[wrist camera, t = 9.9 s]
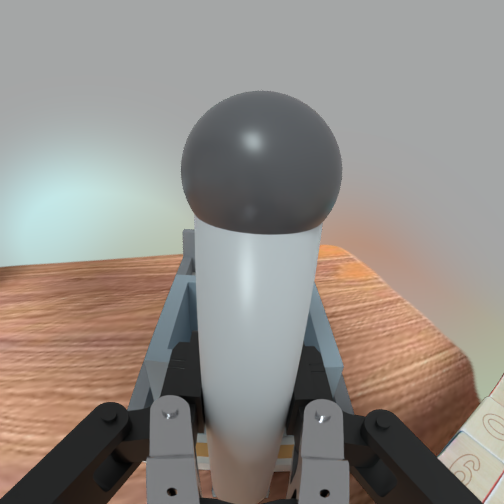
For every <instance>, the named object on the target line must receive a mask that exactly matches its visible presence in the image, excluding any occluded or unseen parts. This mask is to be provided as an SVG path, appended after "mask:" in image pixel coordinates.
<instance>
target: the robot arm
mask: <svg viewBox="0 0 504 504" xmlns="http://www.w3.org/2000/svg"><path fill="white" fill-rule="evenodd" d="M285 427H286V435H294V442H295V443H294V447H293V452H292V461H291V469H290V477H289V485H288V491H287V495H286V499H279V500H276V501H272V502H267V503H263V504H349V471H350V472H351V473H352V475H353V476H354V477H355V478H356V480H357V481H358V482H359V483H360V485H361V486H362V487H363V488H364V489H365V491H366V492H367V493H368V494H369V496H370V497H371V498H372V499H373V500H374V502H375V503H376V504H483V503H482V502H481V501H480V500H479V499H478V498H477V497H476V496H475V495H474V494H473V493H472V492H471V491H470V490H469V489H468V488H467V487H466V486H465V485H464V484H463V483H462V482H461V481H460V480H459V479H458V478H457V477H456V476H455V475H454V474H453V473H452V472H451V471H450V470H449V469H448V468H447V467H446V466H445V465H444V464H443V463H442V462H441V461H440V460H439V459H438V458H437V457H436V456H435V455H434V454H433V453H432V452H431V451H430V450H429V449H428V448H427V447H426V446H425V445H424V444H423V443H422V442H421V441H420V440H419V439H418V438H417V437H416V436H415V435H414V434H413V433H412V432H411V431H410V430H409V429H408V428H407V427H406V426H405V425H404V423H403V422H402V421H401V420H400V419H399V418H398V417H397V416H396V415H394V414H393V413H392V412H390V411H387V410H382V409H379V410H374V411H371V412H370V413H369V414H368V415H367V416H366V417H364V416H359V415H353V414H349V413H346V412H344V411H342V410H341V408H340V407H339V406H338V405H337V404H336V403H334V400H333V397H332V393H331V389H330V386H329V382H328V378H327V374H326V370H325V367H324V363H323V359H322V355H321V353H320V352H319V351H318V350H317V349H316V348H315V346H305V344H304V341H303V346H302V351H301V356H300V361H299V366H298V371H297V376H296V380H295V385H294V390H293V394H292V399H291V403H290V408H289V412H288V416H287V421H286V425H285ZM204 429H205V415H204V404H203V393H202V381H201V368H200V353H199V337H198V331H196V330H193V331H192V334H191V339H190V342H179V343H178V344H177V345H176V346H175V347H174V348H173V349H172V352H171V356H170V361H169V364H168V368H167V371H166V375H165V379H164V383H163V387H162V391H161V395H160V397H159V398H158V399H156V400H155V401H154V402H153V404H152V405H151V406H150V407H148V408H144V409H139V410H130V411H127V410H126V408H125V407H124V406H122V405H121V404H118V403H115V402H106V403H103V404H100V405H99V406H97V407H96V408H95V409H94V410H93V411H92V412H91V413H90V414H89V415H88V416H87V417H86V418H85V419H83V420H82V421H81V422H80V423H79V424H78V425H77V426H76V427H75V428H74V429H73V430H72V431H71V432H70V433H69V434H68V435H67V436H66V437H65V438H64V439H63V440H62V441H61V442H60V443H59V444H58V445H56V446H55V447H54V448H53V449H52V450H51V451H50V452H49V453H48V454H47V455H46V456H45V457H44V458H43V459H42V460H41V461H40V462H39V463H38V464H37V465H36V466H35V467H34V468H33V469H31V470H30V471H29V472H28V473H27V474H26V475H25V476H24V477H23V478H22V479H21V480H20V481H19V482H18V483H17V484H16V485H15V486H14V487H13V488H12V489H11V490H10V491H8V492H7V493H6V494H5V495H4V496H3V497H2V498H1V499H0V504H107V503H108V502H109V500H110V499H111V498H112V497H113V496H114V495H115V493H116V492H117V491H118V490H119V489H120V488H121V486H122V485H123V484H124V483H125V482H126V480H127V479H128V478H129V477H130V476H131V475H132V473H133V472H134V471H135V470H136V469H137V467H138V466H139V465H140V464H141V462H142V461H146V488H147V504H234V503H230V502H226V501H222V500H218V499H212V498H203V497H202V491H201V485H200V477H199V470H198V461H197V453H196V443H197V434H198V433H204Z"/></svg>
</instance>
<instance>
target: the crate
mask: <svg viewBox="0 0 504 504" xmlns="http://www.w3.org/2000/svg"><path fill="white" fill-rule="evenodd" d="M181 178H182V185H183V190H184V193H185V195H186V199H187V201H188V203H189V205H190V207H191V209H192V211H193V212H194V218H195V219H194V221H195V270H196V276H195V275H176V277H175V280H174V282H173V285H172V287H171V290H170V292H169V295H168V297H167V300H166V303H165V305H164V308H163V310H162V313H161V316H160V318H159V321H158V324H157V326H156V329H155V332H154V335H153V337H152V340H151V343H150V346H149V348H148V351H147V354H146V357H145V365H146V370H147V374H148V378H149V383H150V387H151V391H152V395H153V399H154V401H155V400H156V399H158V398H159V397H160V395H161V391H162V387H163V383H164V379H165V375H166V371H167V368H168V364H169V361H170V356H171V352H172V349H173V348H174V347H175V346H176V345H177V344H178V343H179V342H190V339H191V334H192V331H193V330H196V331H198V337H199V353H200V368H201V381H202V393H203V404H204V415H205V429H204V433H198V434H203V435H206V436H207V445H208V454H209V463H210V471H211V479H212V495H213V497H217V498H218V499H219V500H222V501H226V502H230V503H234V504H258V503H259V502H261V501H262V500H263V499H264V498H268V496H269V492H270V491H269V487H270V483H271V480H272V476H273V472H274V468H275V465H276V461H277V457H278V453H279V449H280V445H281V441H282V437H287V436H294V435H286V427H285V425H286V421H287V416H288V412H289V408H290V403H291V399H292V394H293V390H294V385H295V380H296V376H297V371H298V366H299V361H300V356H301V351H302V346H303V341H304V344H305V346H315V348H316V349H317V350H318V351H319V352H320V353H321V355H322V359H323V363H324V367H325V370H326V374H327V378H328V382H329V386H330V389H331V393H332V397H334V394H335V391H336V388H337V385H338V382H339V379H340V376H341V373H342V370H343V367H344V366H343V363H342V360H341V357H340V354H339V351H338V348H337V345H336V342H335V339H334V336H333V333H332V330H331V327H330V324H329V321H328V319H327V316H326V313H325V310H324V307H323V304H322V302H321V299H320V296H319V293H318V290H317V288H316V285H315V282H314V279H315V272H316V266H317V259H318V253H319V246H320V239H321V232H322V224H323V221H324V220H325V219H326V217H327V216H328V214H329V213H330V212H331V210H332V208H333V206H334V204H335V202H336V199H337V196H338V194H339V190H340V186H341V180H342V161H341V155H340V150H339V147H338V144H337V142H336V139H335V137H334V135H333V133H332V131H331V129H330V128H329V126H328V125H327V124H326V122H325V121H324V120H323V119H322V117H320V115H319V114H318V113H317V112H316V111H314V110H313V109H312V108H310V107H309V106H308V105H307V104H305V103H303V102H301V101H300V100H298V99H296V98H293V97H291V96H288V95H285V94H281V93H277V92H271V91H252V92H245V93H241V94H237V95H234V96H232V97H230V98H227V99H225V100H223V101H221V102H219V103H218V104H216V105H215V106H214V107H212V108H211V109H210V110H208V111H207V112H206V113H205V114H204V115H203V116H202V117H201V118H200V119H199V120H198V122H197V123H196V125H195V126H194V127H193V129H192V131H191V133H190V135H189V136H188V138H187V141H186V144H185V147H184V150H183V155H182V162H181Z"/></svg>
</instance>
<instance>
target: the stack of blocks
mask: <svg viewBox="0 0 504 504" xmlns="http://www.w3.org/2000/svg"><path fill="white" fill-rule="evenodd" d="M437 458H438V459H439V460H440V461H441V462H442V463H443V464H444V465H445V466H446V467H447V468H448V469H449V470H450V471H451V472H452V473H453V474H454V475H455V476H456V477H457V478H458V479H459V480H460V481H461V482H462V483H463V484H464V485H465V486H466V487H467V488H468V489H469V490H470V491H471V492H472V493H473V494H474V495H475V496H476V497H477V498H478V499H479V500H480V501H481V502H482V503H483V504H504V374H503V375H502V377H501V378H500V381H499V382H498V384H497V385H496V387H495V388H494V389H493V390H492V392H491V393H490V395H489V396H488V397H485V398H484V399H483V401H482V402H481V403H480V404H479V406H478V407H477V408H476V409H475V411H474V412H473V413H472V414H471V416H470V417H469V418H468V419H467V421H466V422H465V423H464V424H463V425H462V426H461V428H460V429H459V430H458V431H457V432H456V434H455V435H454V436H453V437H452V439H451V440H450V441H449V442H448V444H447V445H446V446H445V447H444V448H443V450H442V451H441V452H440V453H439V455H438V456H437Z"/></svg>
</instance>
